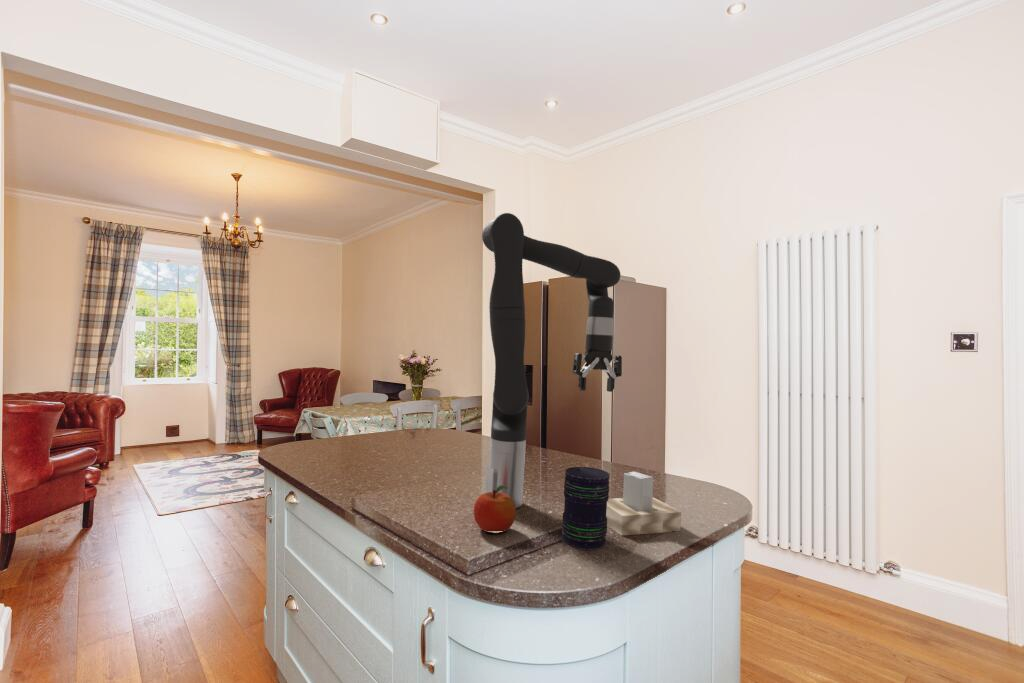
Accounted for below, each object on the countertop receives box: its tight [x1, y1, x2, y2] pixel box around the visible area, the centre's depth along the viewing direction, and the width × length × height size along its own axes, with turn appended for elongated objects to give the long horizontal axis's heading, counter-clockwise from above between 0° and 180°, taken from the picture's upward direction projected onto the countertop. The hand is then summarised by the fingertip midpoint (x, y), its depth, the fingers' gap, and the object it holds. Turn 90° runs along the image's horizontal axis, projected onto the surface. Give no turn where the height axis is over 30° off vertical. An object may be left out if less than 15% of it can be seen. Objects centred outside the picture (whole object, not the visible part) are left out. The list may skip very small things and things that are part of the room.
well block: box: [606, 496, 682, 536], centre depth 123 cm, size 16×12×4 cm
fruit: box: [473, 485, 517, 531], centre depth 114 cm, size 10×10×10 cm
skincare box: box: [622, 471, 654, 512], centre depth 123 cm, size 6×4×12 cm
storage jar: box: [561, 466, 611, 551], centre depth 111 cm, size 10×10×15 cm
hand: (596, 391), depth 142 cm, fingers open, 8 cm apart
